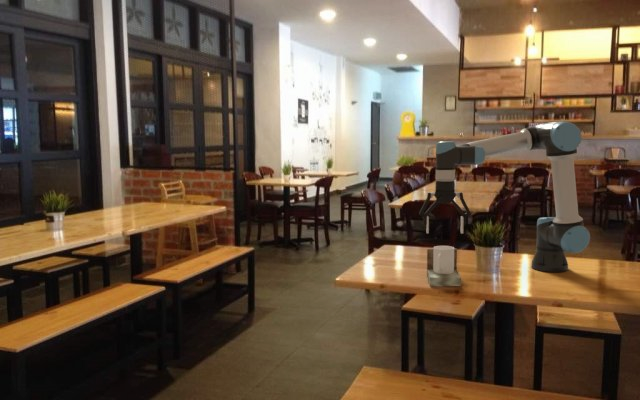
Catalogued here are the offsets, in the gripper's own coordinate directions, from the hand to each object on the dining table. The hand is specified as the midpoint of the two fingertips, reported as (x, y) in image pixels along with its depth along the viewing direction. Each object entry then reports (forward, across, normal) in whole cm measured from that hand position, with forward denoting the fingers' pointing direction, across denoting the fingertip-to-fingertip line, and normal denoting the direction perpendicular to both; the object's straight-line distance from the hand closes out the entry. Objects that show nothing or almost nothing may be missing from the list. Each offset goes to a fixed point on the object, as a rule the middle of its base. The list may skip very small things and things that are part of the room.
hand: (444, 233), depth 228 cm
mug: (+17, +1, 0) cm, 17 cm away
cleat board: (+20, 0, -1) cm, 20 cm away
